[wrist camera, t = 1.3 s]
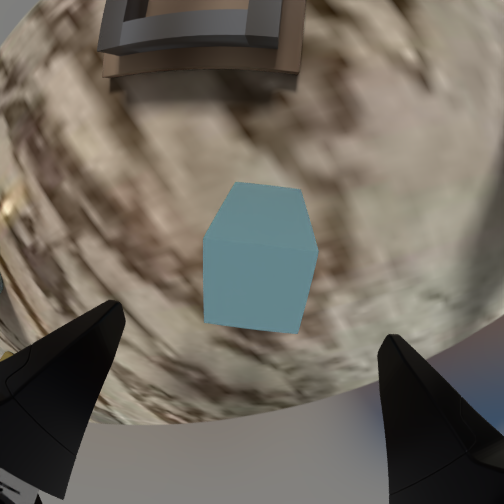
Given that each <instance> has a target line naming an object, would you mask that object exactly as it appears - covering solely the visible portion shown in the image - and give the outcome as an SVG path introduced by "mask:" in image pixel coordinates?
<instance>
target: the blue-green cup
mask: <svg viewBox="0 0 504 504" xmlns="http://www.w3.org/2000/svg"><path fill="white" fill-rule="evenodd" d="M2 290H3V282H2V277H1V274H0V293H1V292H2Z"/></svg>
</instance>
